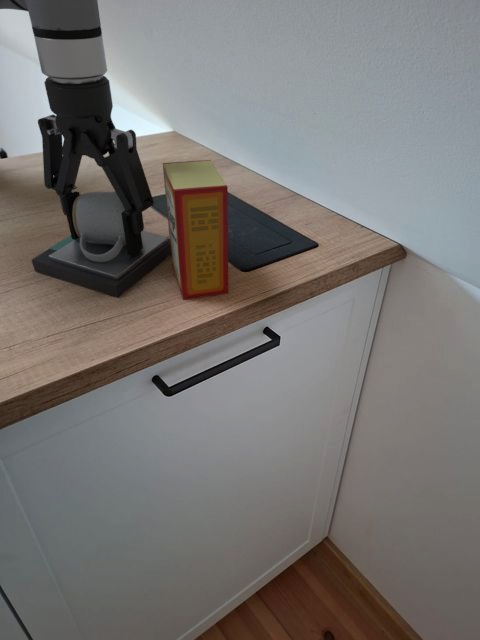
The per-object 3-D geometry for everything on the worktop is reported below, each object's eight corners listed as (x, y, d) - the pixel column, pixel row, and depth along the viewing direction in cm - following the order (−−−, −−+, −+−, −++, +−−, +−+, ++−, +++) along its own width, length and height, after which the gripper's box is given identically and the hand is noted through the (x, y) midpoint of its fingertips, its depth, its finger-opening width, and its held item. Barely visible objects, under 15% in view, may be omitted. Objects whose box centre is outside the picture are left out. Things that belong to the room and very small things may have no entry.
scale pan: (49, 260, 71) (48, 255, 71) (106, 225, 80) (105, 220, 80) (117, 281, 68) (116, 276, 67) (168, 241, 77) (168, 237, 76)
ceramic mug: (91, 228, 77) (81, 180, 72) (143, 230, 77) (136, 183, 72) (70, 263, 69) (56, 212, 64) (127, 266, 69) (119, 215, 64)
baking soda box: (172, 265, 75) (162, 160, 65) (213, 260, 77) (210, 157, 66) (183, 299, 68) (174, 187, 58) (228, 293, 70) (227, 183, 60)
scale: (34, 271, 72) (30, 258, 71) (100, 230, 83) (97, 218, 82) (118, 297, 68) (115, 284, 67) (175, 251, 79) (174, 238, 77)
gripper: (171, 82, 58) (183, 250, 73) (28, 60, 65) (66, 218, 79) (134, 95, 53) (155, 273, 68) (-18, 69, 60) (31, 237, 74)
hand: (107, 243), depth 73 cm, fingers closed on ceramic mug, 9 cm apart
